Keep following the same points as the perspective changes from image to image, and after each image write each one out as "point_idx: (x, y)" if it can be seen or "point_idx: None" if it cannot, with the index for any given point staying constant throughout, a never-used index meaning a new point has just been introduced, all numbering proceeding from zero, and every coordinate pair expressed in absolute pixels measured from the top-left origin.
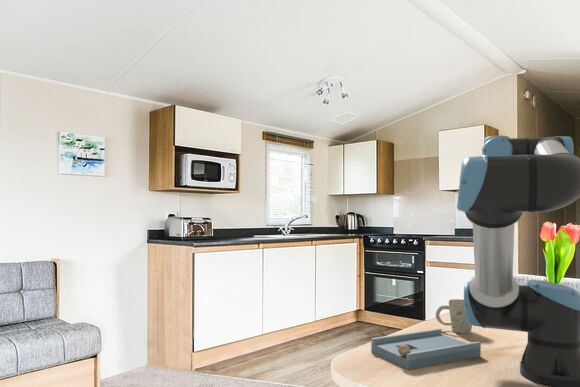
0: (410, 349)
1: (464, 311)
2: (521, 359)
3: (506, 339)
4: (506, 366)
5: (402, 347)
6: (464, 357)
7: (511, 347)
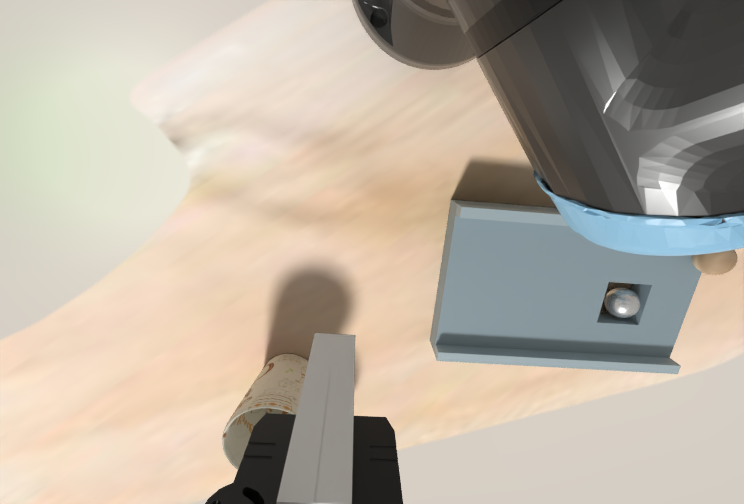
0: (616, 295)
1: (298, 397)
2: (473, 53)
3: (232, 266)
4: (466, 107)
5: (736, 257)
6: (514, 205)
7: (291, 209)
